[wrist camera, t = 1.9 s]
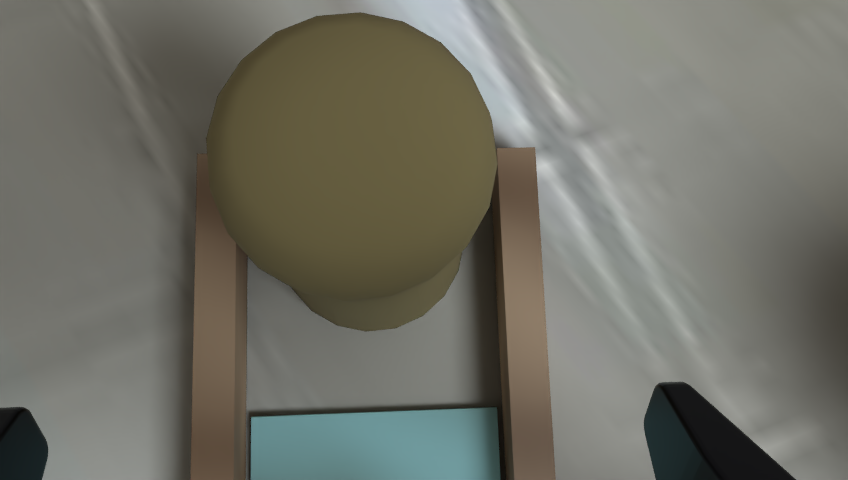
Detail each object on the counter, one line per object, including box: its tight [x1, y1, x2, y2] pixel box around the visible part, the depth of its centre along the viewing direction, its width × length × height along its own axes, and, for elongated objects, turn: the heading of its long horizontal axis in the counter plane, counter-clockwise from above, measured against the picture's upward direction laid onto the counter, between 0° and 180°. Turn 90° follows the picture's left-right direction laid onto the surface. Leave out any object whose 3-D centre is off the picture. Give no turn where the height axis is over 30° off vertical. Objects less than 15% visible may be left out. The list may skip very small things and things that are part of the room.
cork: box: [206, 12, 498, 331], centre depth 15 cm, size 6×6×11 cm
